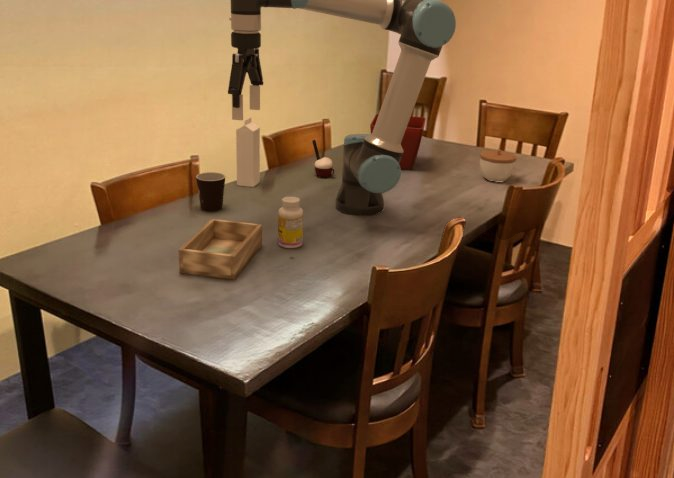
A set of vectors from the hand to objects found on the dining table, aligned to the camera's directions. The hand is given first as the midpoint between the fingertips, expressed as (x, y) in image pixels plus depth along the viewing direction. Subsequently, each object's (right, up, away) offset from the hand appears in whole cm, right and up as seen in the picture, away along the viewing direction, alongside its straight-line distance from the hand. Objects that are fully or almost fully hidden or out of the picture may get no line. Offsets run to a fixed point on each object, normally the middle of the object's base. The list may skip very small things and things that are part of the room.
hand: (246, 114), depth 186 cm
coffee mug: (-14, -23, +28) cm, 39 cm away
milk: (-6, -15, +50) cm, 53 cm away
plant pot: (+46, -5, +79) cm, 92 cm away
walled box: (-5, -38, -8) cm, 39 cm away
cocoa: (+19, -11, +62) cm, 66 cm away
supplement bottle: (+11, -35, +3) cm, 37 cm away
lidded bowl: (+81, -12, +67) cm, 106 cm away
